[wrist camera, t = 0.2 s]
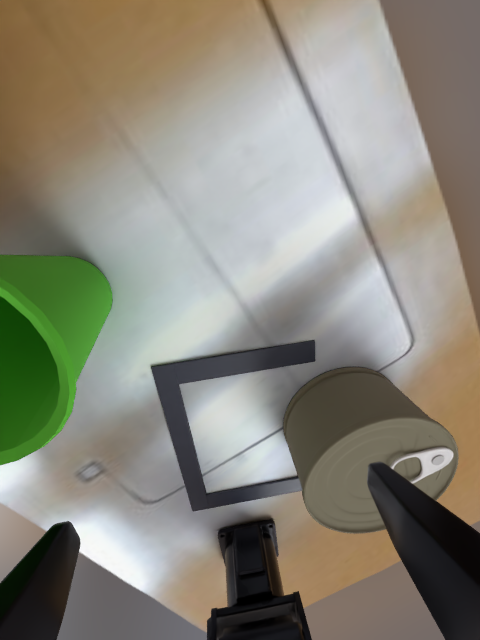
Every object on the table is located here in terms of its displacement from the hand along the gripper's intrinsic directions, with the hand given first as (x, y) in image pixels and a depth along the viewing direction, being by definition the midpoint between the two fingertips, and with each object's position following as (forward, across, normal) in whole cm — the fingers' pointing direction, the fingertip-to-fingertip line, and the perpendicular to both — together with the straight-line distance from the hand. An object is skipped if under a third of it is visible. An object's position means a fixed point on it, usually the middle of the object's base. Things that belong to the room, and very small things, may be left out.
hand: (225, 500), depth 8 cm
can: (+15, -10, +12) cm, 22 cm away
